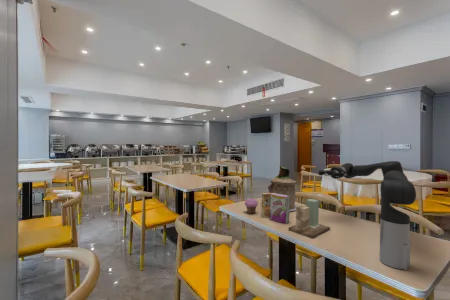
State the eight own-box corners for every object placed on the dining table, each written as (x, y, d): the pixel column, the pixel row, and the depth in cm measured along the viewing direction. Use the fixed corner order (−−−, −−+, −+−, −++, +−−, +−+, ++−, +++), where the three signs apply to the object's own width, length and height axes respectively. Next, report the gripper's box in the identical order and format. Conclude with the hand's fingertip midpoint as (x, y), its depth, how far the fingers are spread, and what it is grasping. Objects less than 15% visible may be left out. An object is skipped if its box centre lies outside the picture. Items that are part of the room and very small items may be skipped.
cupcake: (246, 215, 144) (247, 200, 144) (243, 211, 153) (243, 197, 153) (259, 214, 146) (259, 199, 146) (255, 210, 154) (255, 196, 154)
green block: (318, 224, 123) (318, 200, 123) (313, 226, 120) (314, 201, 120) (310, 222, 127) (310, 198, 127) (305, 224, 124) (306, 200, 124)
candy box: (263, 217, 140) (263, 194, 140) (261, 215, 144) (261, 192, 144) (276, 217, 141) (276, 193, 141) (273, 215, 145) (274, 192, 145)
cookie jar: (306, 209, 159) (307, 166, 158) (280, 214, 148) (281, 167, 147) (283, 201, 181) (283, 163, 180) (259, 205, 170) (259, 164, 169)
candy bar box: (269, 219, 136) (269, 194, 135) (273, 218, 139) (273, 192, 139) (285, 224, 128) (286, 197, 128) (289, 222, 132) (290, 195, 131)
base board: (329, 229, 121) (330, 205, 120) (312, 238, 109) (313, 212, 108) (306, 222, 131) (307, 200, 131) (288, 230, 119) (289, 205, 119)
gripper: (327, 165, 145) (315, 167, 135) (350, 167, 134) (338, 169, 124) (326, 176, 145) (314, 179, 135) (349, 179, 134) (338, 182, 124)
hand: (326, 174), depth 129 cm, fingers open, 8 cm apart
